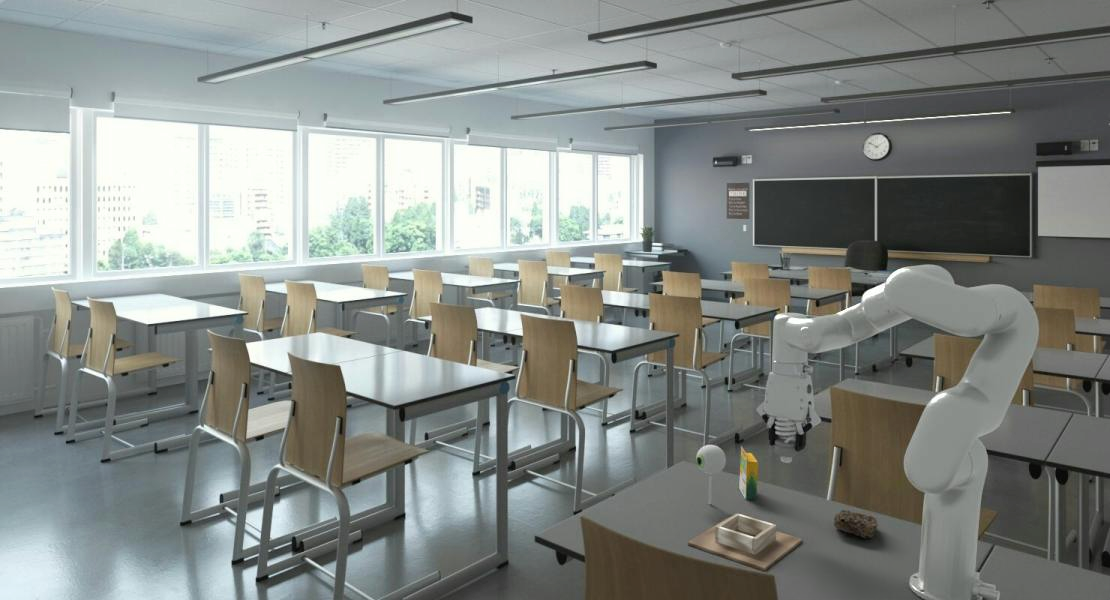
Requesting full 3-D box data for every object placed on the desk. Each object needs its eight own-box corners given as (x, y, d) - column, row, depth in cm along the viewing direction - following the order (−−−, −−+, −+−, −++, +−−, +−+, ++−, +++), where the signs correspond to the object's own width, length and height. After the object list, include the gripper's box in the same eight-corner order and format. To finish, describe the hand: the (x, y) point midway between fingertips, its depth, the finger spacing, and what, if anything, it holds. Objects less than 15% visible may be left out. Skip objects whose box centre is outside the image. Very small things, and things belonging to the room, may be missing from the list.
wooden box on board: (802, 541, 172) (802, 524, 172) (764, 570, 159) (765, 552, 158) (728, 519, 184) (729, 502, 184) (687, 544, 171) (688, 527, 170)
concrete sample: (870, 547, 170) (871, 524, 169) (824, 534, 176) (825, 513, 176) (886, 529, 179) (887, 508, 178) (841, 518, 185) (842, 497, 185)
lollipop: (689, 501, 195) (690, 443, 193) (713, 496, 198) (714, 439, 196) (706, 511, 188) (708, 451, 186) (730, 506, 191) (732, 447, 189)
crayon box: (757, 500, 196) (758, 455, 194) (745, 499, 196) (746, 455, 194) (750, 489, 203) (752, 445, 201) (738, 488, 203) (740, 445, 202)
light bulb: (800, 469, 174) (802, 416, 173) (773, 467, 176) (775, 415, 174) (798, 460, 180) (800, 409, 178) (772, 458, 181) (774, 408, 179)
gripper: (834, 371, 172) (830, 451, 174) (762, 360, 183) (760, 435, 186) (819, 377, 166) (815, 459, 169) (746, 365, 178) (744, 443, 180)
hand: (786, 446), depth 177 cm, fingers closed on light bulb, 5 cm apart
